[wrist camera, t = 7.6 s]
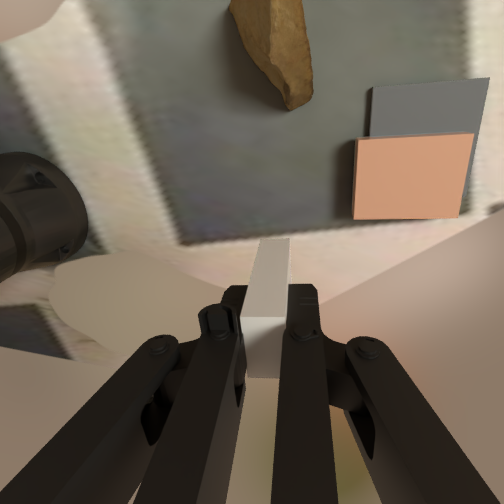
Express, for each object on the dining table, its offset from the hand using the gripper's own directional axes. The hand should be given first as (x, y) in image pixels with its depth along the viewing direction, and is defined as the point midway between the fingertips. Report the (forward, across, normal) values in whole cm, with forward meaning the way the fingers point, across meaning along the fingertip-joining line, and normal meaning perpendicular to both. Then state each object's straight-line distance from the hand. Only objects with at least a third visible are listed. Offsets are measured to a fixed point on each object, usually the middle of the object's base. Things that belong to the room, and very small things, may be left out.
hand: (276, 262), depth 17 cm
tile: (+20, +7, -1) cm, 21 cm away
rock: (+23, -1, +11) cm, 25 cm away
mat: (+22, +13, +2) cm, 26 cm away
